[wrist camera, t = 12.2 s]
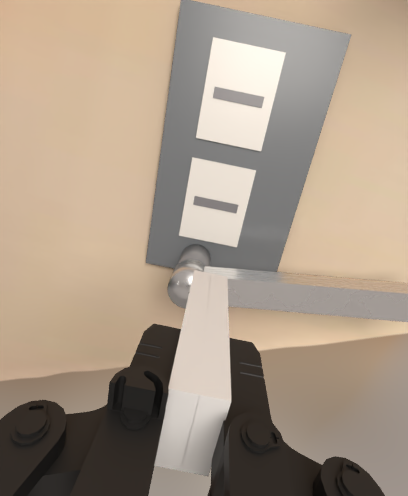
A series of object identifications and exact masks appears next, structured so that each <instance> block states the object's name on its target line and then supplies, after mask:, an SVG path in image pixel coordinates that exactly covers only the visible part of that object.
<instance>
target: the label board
mask: <svg viewBox="0 0 408 496" xmlns="http://www.w3.org/2000/svg"><path fill="white" fill-rule="evenodd" d="M350 37H351V34H346V33H341V32H337V31H332V30H327V29H323V28H318V27H313V26H309V25H304V24H299V23H294V22H290V21H285V20H280V19H276V18H271V17H266V16H262V15H257V14H252V13H248V12H243V11H238V10H234V9H229V8H224V7H220V6H215V5H210V4H205V3H201V2H196V1H191V0H181V5H180V12H179V20H178V27H177V35H176V42H175V49H174V57H173V64H172V72H171V79H170V87H169V94H168V101H167V109H166V116H165V124H164V131H163V139H162V146H161V154H160V161H159V168H158V176H157V183H156V191H155V198H154V206H153V213H152V221H151V228H150V235H149V243H148V250H147V258H146V263H149V264H154V265H159V266H164V267H169V268H174V269H175V267H176V266H177V265H178V264H179V263H180V262H182V261H184V260H190V259H192V260H197V261H200V262H202V263H203V264H204V265H205V266H208V267H221V268H233V269H245V270H257V271H269V272H277V269H278V266H279V263H280V260H281V256H282V253H283V250H284V247H285V244H286V241H287V237H288V234H289V231H290V228H291V225H292V222H293V218H294V215H295V212H296V209H297V206H298V203H299V199H300V196H301V193H302V190H303V187H304V183H305V180H306V177H307V174H308V171H309V168H310V164H311V161H312V158H313V155H314V152H315V149H316V145H317V142H318V139H319V136H320V133H321V129H322V126H323V123H324V120H325V117H326V114H327V110H328V107H329V104H330V101H331V98H332V95H333V91H334V88H335V85H336V82H337V79H338V76H339V72H340V69H341V66H342V63H343V60H344V56H345V53H346V50H347V47H348V44H349V41H350Z"/></svg>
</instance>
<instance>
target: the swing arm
mask: <svg viewBox="0 0 408 496" xmlns="http://www.w3.org/2000/svg"><path fill="white" fill-rule="evenodd" d="M194 270H197V271H202V272H207V273H211V274H216V275H221V276H226V277H227V281H228V306H230V307H241V308H253V309H264V310H276V311H287V312H298V313H310V314H321V315H333V316H344V317H356V318H367V319H379V320H390V321H402V322H408V283H402V282H390V281H378V280H366V279H354V278H342V277H329V276H317V275H305V274H293V273H281V272H269V271H257V270H245V269H233V268H221V267H208V266H205V265H204V264H203V263H202V262H200V261H197V260H192V259H190V260H184V261H182V262H180V263H179V264H178V265H177V266H176V267H175V269H174V271H173V274H172V276H171V279H170V282H169V284H168V295H169V297H170V299H171V300H172V302H173V303H175V304H176V305H177V306H179V307H181V308H185V309H186V305H187V301H188V296H189V292H190V287H191V283H192V278H193V274H194Z"/></svg>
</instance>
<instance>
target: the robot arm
mask: <svg viewBox="0 0 408 496" xmlns="http://www.w3.org/2000/svg"><path fill="white" fill-rule="evenodd" d="M263 376H264V375H263V369H262V363H261V357H260V353H259V352H258V350H257V349H256V347H255V346H254V344H253V343H252V342H247V341H242V340H237V339H232V338H229V312H228V281H227V277H226V276H221V275H216V274H211V273H207V272H202V271H197V270H194V274H193V278H192V283H191V287H190V292H189V296H188V301H187V305H186V310H185V314H184V319H183V323H182V328H181V329H177V328H172V327H167V326H162V325H158V324H153V325H152V326H150V327H149V328H148V329H147V330H146V331H144V333H143V336H142V338H141V341H140V344H139V345H138V348H137V350H136V354H135V355H134V358H133V360H132V362H131V365H130V367H128V368H124V369H123V370H121V371H120V372H118V373H116V374H115V376H114V377H113V378H112V380H111V381H110V384H109V394H108V403H107V405H106V406H104V407H102V408H100V409H97V410H94V411H90V412H84V413H74V414H65V412H64V409H63V408H62V407H60V406H59V405H58V404H57V403H55V402H51V401H47V400H39V401H31V402H28V403H26V404H23V405H20V406H18V407H17V408H15V409H14V410H12V411H11V412H9V413H8V414H7V415H5V416H4V417H3V418H2V419H1V420H0V496H148V494H149V489H150V484H151V479H152V474H153V470H154V466H158V467H164V468H168V469H174V470H179V471H184V472H189V473H194V474H199V475H204V476H208V475H209V472H210V469H211V486H210V490H209V493H208V496H385V495H384V493H383V492H382V490H381V489H380V487H379V486H378V485H377V483H376V482H375V481H374V480H373V478H372V477H371V476H370V475H369V474H368V473H367V472H366V471H365V470H364V469H362V468H361V467H360V466H359V465H358V464H356V463H354V462H352V461H350V460H348V459H346V458H341V457H332V458H329V459H326V461H325V462H324V464H323V465H321V464H319V463H317V462H315V461H313V460H311V459H309V458H307V457H305V456H304V455H302V454H300V453H298V452H297V451H295V450H293V449H292V448H291V447H289V446H288V445H287V444H286V443H285V442H284V441H283V439H282V436H281V433H280V432H279V431H278V430H277V428H276V427H275V426H274V424H273V423H272V420H271V415H270V409H269V404H268V398H267V392H266V386H265V380H264V378H263ZM211 466H212V468H211Z"/></svg>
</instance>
